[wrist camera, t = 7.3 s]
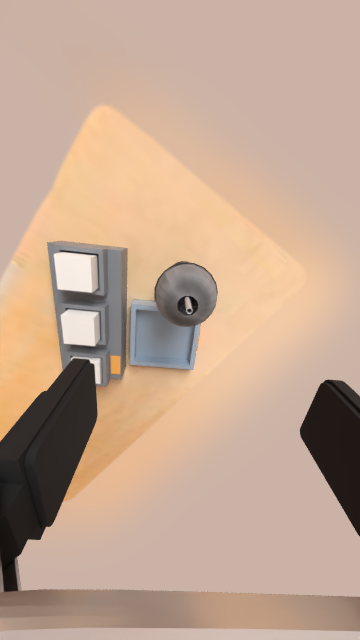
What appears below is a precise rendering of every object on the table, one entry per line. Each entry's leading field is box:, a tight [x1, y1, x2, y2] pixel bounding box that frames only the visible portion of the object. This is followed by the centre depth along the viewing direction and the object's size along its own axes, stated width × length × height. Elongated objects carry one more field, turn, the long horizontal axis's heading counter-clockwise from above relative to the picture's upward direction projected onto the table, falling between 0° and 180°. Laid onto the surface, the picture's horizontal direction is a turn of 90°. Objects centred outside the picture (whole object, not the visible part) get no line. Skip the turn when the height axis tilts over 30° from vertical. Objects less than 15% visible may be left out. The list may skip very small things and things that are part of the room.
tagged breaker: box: [71, 356, 103, 384], centre depth 36 cm, size 4×4×2 cm
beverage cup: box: [155, 261, 218, 327], centre depth 26 cm, size 7×7×20 cm
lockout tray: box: [130, 299, 201, 370], centre depth 38 cm, size 12×12×2 cm
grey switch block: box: [47, 241, 127, 387], centre depth 34 cm, size 22×10×8 cm, turn 174°
